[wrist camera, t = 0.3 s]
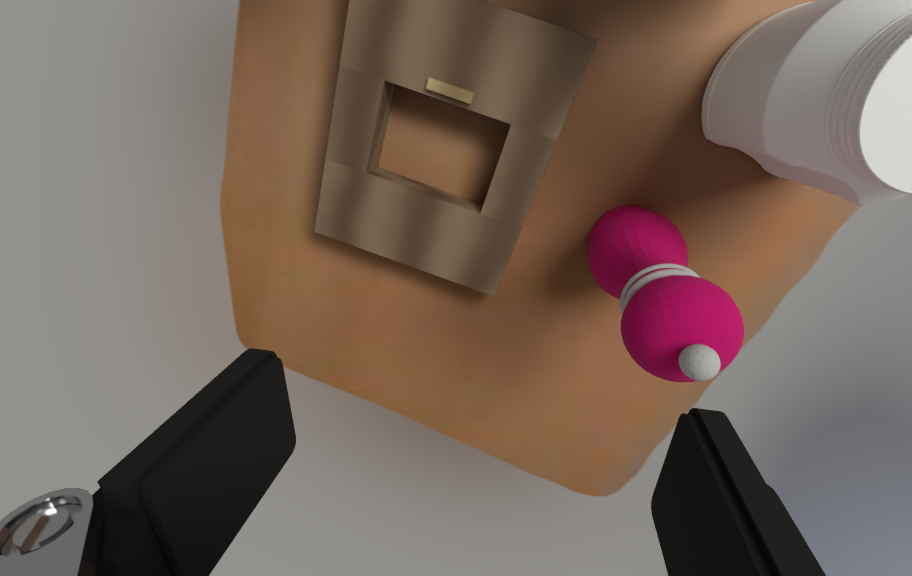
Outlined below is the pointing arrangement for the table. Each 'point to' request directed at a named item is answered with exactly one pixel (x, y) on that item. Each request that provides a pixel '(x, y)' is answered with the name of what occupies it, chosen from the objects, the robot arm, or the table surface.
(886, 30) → the jar
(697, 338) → the pepper mill
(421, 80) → the board
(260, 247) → the table surface
